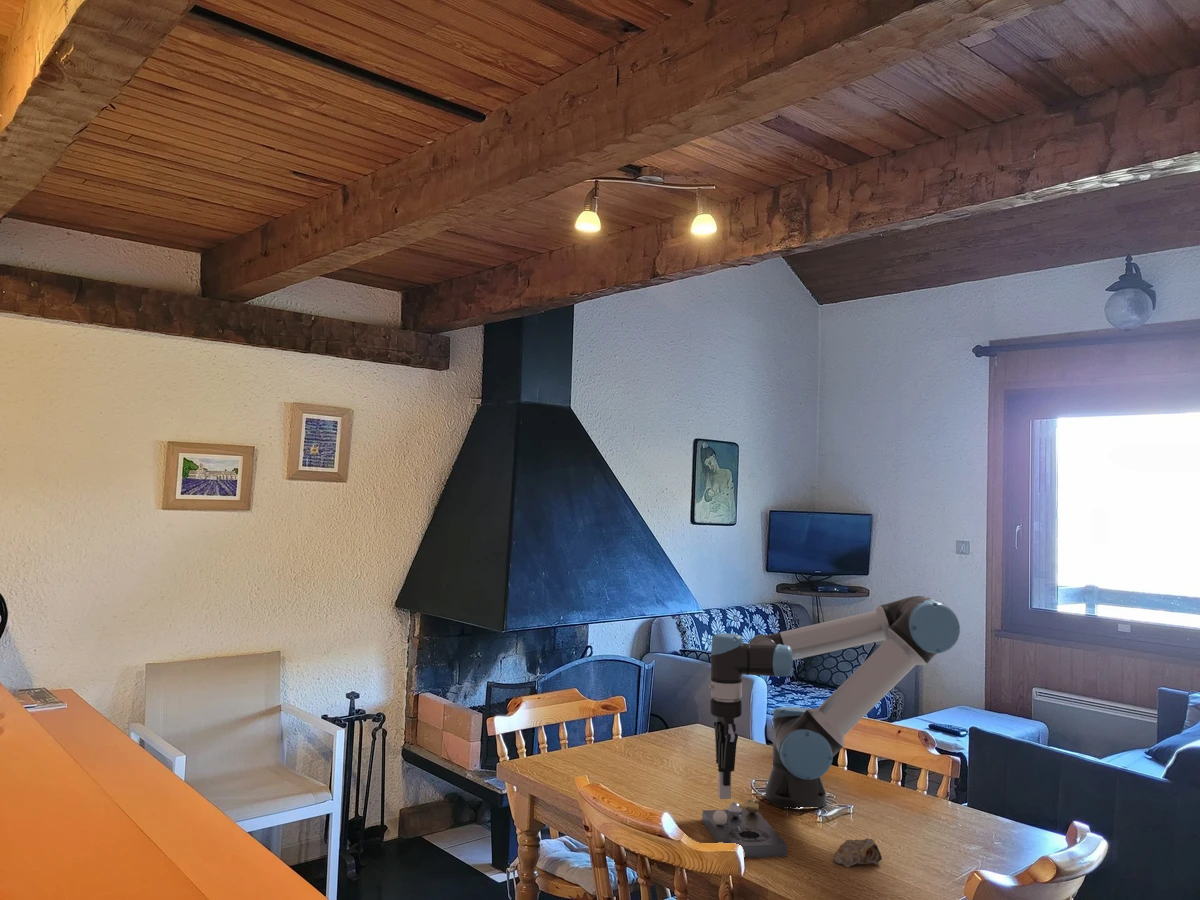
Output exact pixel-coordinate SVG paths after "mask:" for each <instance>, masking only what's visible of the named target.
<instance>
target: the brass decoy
mask: <svg viewBox="0 0 1200 900" xmlns="http://www.w3.org/2000/svg"><path fill="white" fill-rule="evenodd" d="M744 806H745V809H746V810H747V811H748V812H749V813H756V812H757V811H758V812H759V809H760V804H759V802H758V801H757V800H756V799H755V798H749V799H747V800H746V802H745V804H744Z"/></svg>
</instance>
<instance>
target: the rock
mask: <svg viewBox="0 0 1200 900" xmlns="http://www.w3.org/2000/svg"><path fill="white" fill-rule="evenodd" d="M833 858H834V862H835V863H837V864H839V865H842V866H844V867H846V868H847V869H850V868H851V867H852V866H854V865H861V864H862V865H865V864H866V865H867V864H869V865H872V864H874V865H878V864H879V863H881V861H882V860H883V858H882V853H881V852H880V849H879V847H878V845H877V844H876V842H875V840H873V839H872V838H864V839H846V840H845V841H844V842H843V843H841V845H840V846H839V847H838V849H837V851H835V852H834V854H833Z"/></svg>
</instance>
